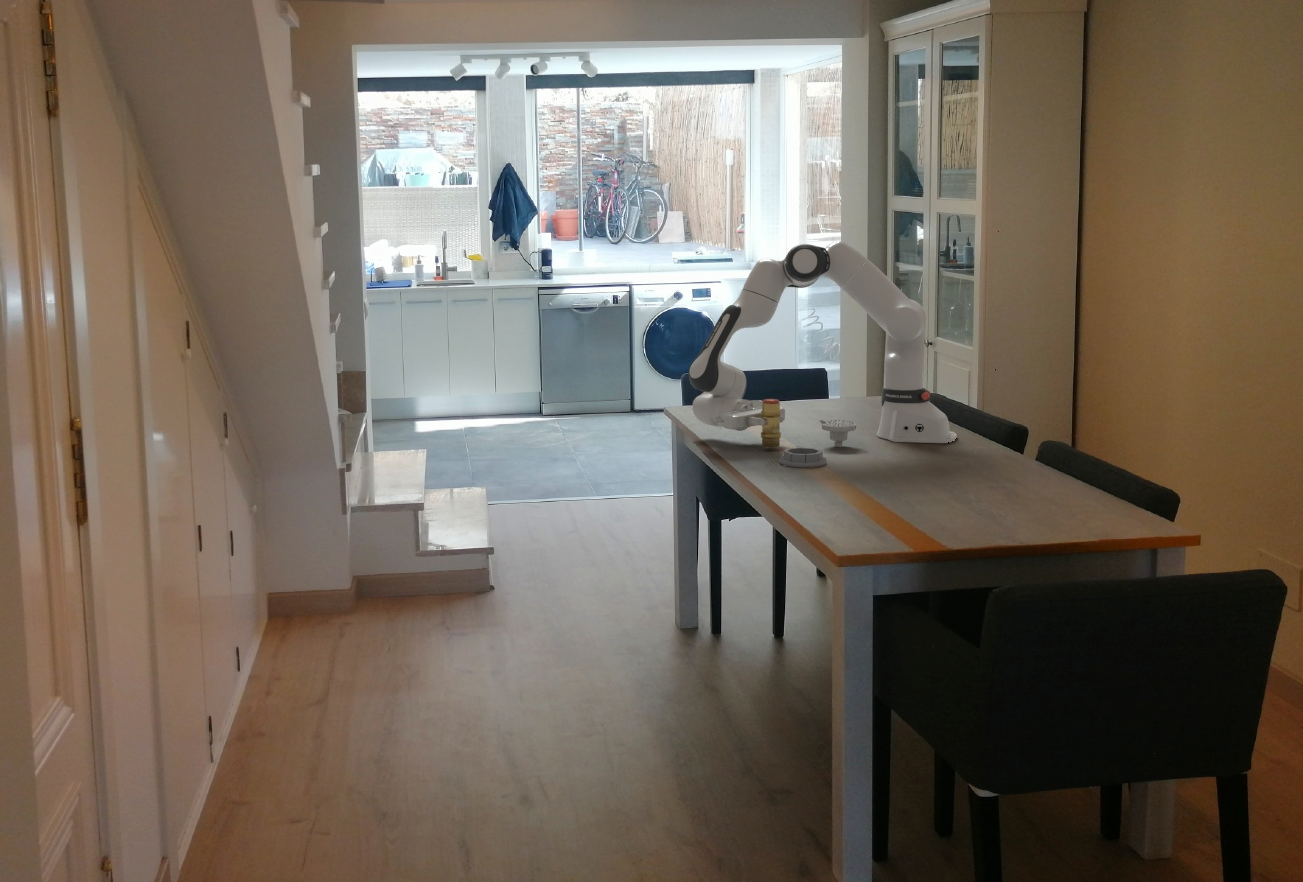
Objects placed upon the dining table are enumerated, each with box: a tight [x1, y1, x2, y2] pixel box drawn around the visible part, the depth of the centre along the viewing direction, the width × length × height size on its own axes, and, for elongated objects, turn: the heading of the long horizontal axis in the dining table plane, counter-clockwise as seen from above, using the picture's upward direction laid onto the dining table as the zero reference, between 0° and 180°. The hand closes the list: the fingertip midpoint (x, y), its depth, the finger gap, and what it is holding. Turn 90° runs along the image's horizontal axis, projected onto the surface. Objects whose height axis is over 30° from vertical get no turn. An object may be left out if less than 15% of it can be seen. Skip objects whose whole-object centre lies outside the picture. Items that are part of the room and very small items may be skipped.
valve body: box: [760, 398, 782, 449], centre depth 342 cm, size 5×5×13 cm
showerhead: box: [819, 419, 857, 448], centre depth 348 cm, size 9×7×10 cm
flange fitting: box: [779, 446, 827, 468], centre depth 327 cm, size 12×12×3 cm
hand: (773, 420), depth 341 cm, fingers closed on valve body, 5 cm apart
